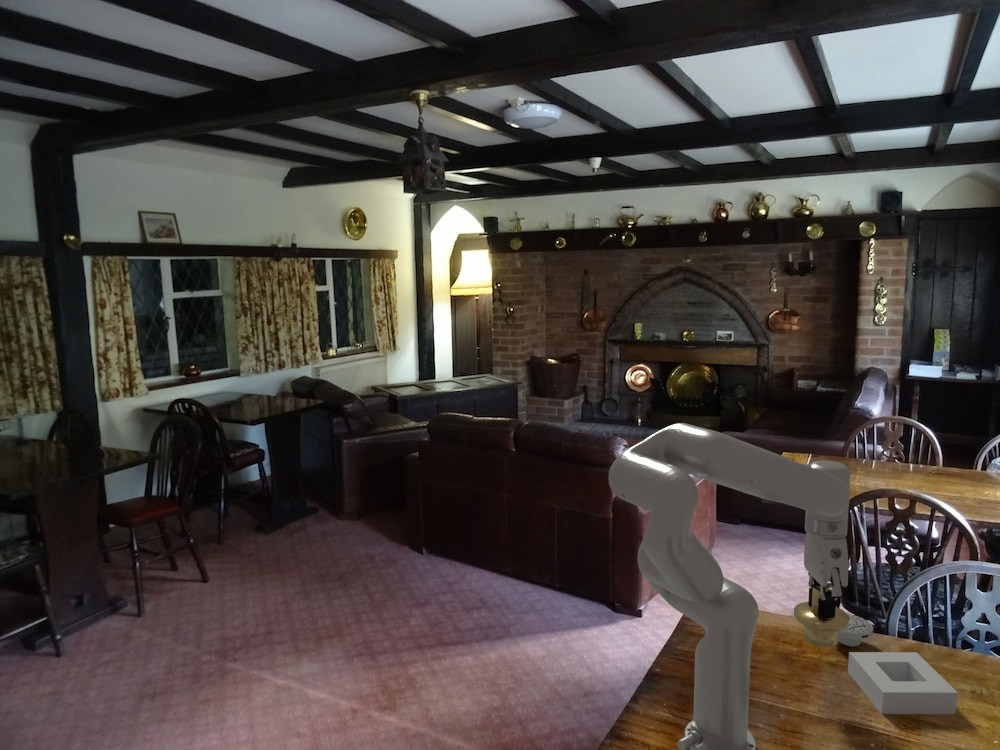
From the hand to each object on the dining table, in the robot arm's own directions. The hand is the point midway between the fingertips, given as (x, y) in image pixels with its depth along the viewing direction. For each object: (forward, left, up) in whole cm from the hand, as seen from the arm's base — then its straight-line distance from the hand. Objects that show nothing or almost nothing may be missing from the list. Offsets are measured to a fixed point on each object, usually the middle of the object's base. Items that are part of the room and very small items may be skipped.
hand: (821, 611), depth 138 cm
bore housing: (+13, -10, -19) cm, 25 cm away
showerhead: (+23, +6, -19) cm, 30 cm away
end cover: (0, 0, -6) cm, 6 cm away
